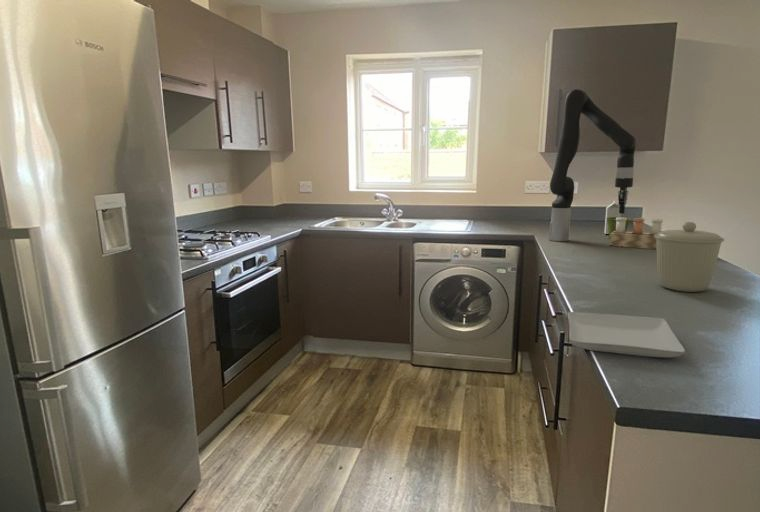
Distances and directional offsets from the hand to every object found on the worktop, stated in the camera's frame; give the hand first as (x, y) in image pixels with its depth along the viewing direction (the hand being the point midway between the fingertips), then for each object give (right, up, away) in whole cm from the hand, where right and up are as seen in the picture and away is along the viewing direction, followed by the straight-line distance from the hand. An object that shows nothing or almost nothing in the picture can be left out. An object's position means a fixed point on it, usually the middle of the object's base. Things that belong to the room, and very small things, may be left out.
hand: (621, 213), depth 222 cm
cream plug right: (+13, -12, -6) cm, 18 cm away
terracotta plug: (+6, -11, -2) cm, 13 cm away
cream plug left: (0, -10, +2) cm, 11 cm away
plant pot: (+8, -12, +20) cm, 24 cm away
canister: (-22, -31, -77) cm, 86 cm away
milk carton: (+14, -9, +37) cm, 40 cm away
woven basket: (+6, -16, -1) cm, 17 cm away
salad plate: (-64, -40, -120) cm, 142 cm away
